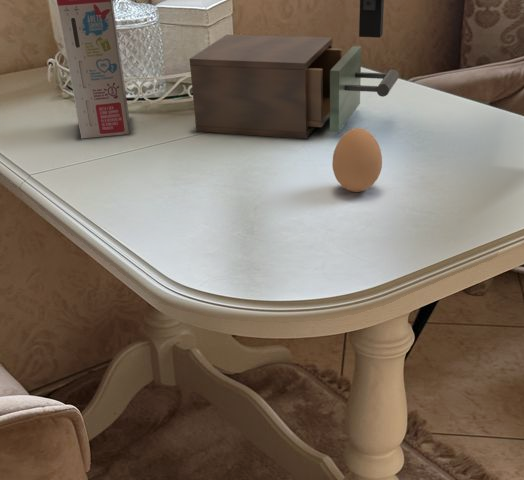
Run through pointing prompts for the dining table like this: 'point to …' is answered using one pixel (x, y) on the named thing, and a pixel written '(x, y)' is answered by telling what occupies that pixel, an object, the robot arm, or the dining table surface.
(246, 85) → the cabinet
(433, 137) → the dining table surface
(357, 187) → the egg
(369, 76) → the drawer
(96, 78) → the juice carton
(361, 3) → the robot arm
